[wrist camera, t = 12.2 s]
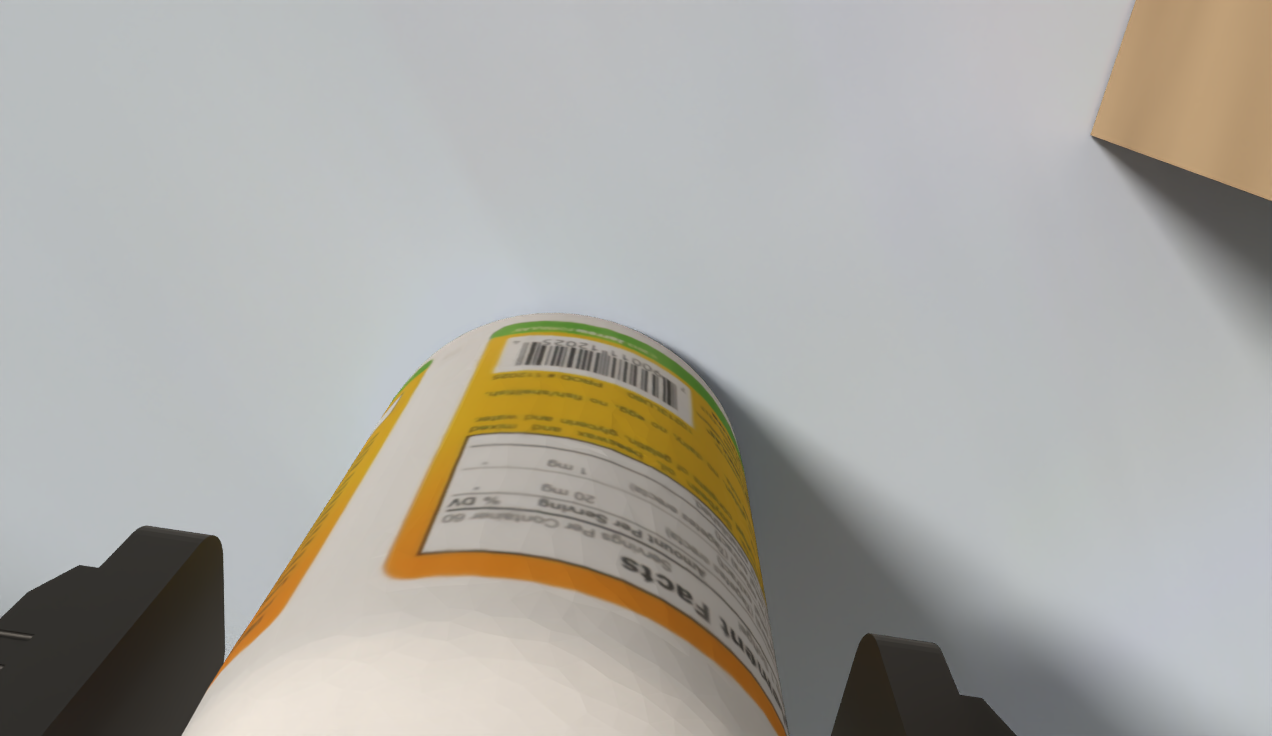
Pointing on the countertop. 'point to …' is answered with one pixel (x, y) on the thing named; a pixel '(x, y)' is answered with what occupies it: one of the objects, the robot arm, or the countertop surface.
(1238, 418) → the countertop surface
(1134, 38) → the oak pedestal
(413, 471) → the supplement bottle
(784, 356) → the countertop surface
